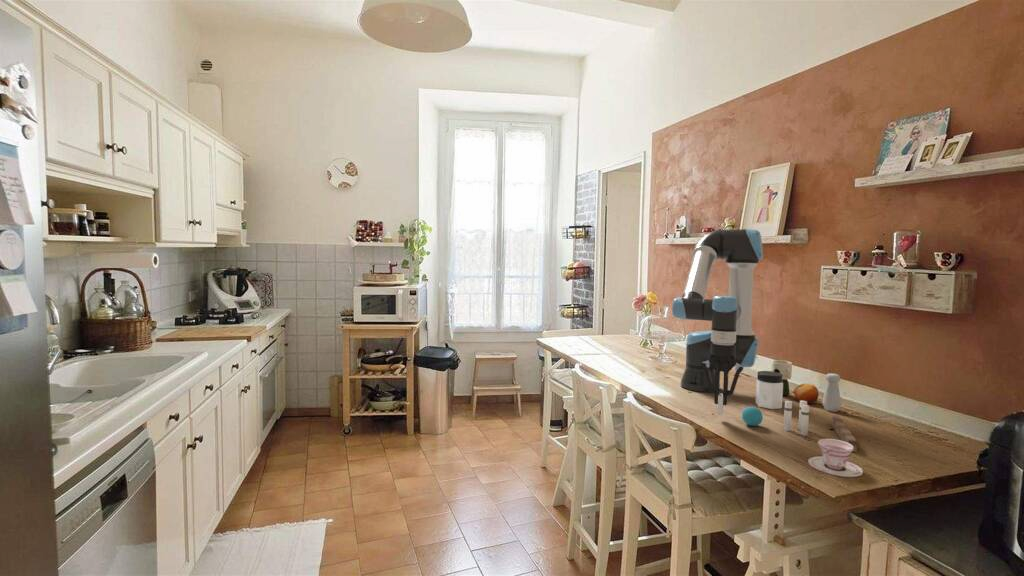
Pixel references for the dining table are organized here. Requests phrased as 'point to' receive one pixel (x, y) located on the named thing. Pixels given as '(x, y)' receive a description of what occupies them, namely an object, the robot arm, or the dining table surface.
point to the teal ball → (752, 416)
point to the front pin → (787, 415)
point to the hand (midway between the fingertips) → (720, 414)
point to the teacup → (835, 458)
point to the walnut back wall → (844, 432)
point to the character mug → (783, 372)
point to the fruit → (806, 393)
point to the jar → (769, 389)
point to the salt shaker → (832, 393)
